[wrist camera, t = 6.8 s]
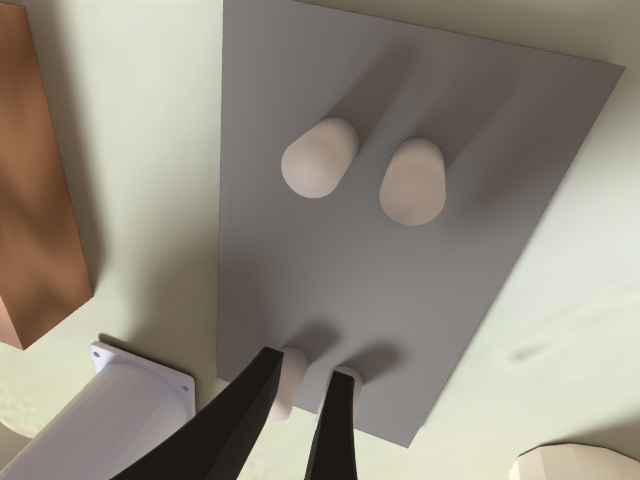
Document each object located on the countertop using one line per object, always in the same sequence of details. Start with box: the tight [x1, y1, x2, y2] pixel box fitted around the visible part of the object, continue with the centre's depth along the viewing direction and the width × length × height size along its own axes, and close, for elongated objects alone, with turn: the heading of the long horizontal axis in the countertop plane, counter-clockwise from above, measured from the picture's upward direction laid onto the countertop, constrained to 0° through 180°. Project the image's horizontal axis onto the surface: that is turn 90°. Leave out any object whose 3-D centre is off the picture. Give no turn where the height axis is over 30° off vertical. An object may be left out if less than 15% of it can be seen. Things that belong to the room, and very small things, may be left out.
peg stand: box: [217, 0, 626, 448], centre depth 15 cm, size 20×12×4 cm, turn 170°
